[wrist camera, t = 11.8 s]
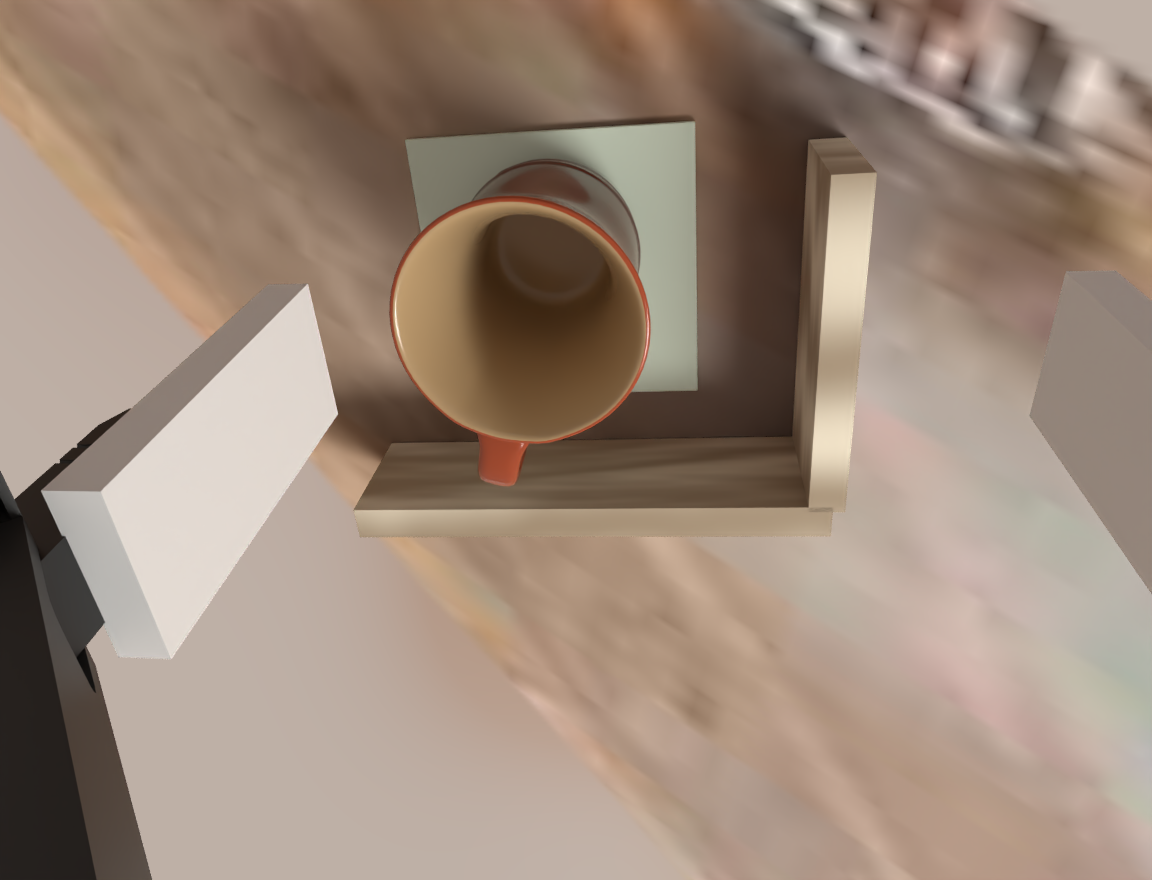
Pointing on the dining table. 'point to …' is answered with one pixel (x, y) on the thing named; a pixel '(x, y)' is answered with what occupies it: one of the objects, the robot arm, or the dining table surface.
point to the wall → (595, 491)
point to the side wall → (831, 315)
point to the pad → (644, 180)
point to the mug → (525, 310)
